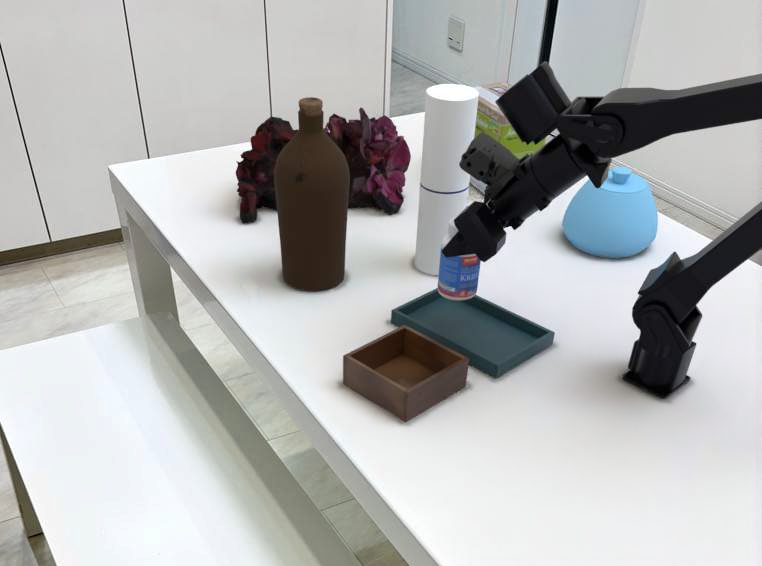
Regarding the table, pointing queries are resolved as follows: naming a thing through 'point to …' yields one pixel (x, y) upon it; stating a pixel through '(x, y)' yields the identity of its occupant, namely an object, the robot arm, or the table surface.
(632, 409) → the table surface
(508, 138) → the tea box
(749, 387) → the table surface
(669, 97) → the robot arm
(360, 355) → the open box
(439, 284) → the pill bottle
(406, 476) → the table surface
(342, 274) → the olive oil
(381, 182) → the flower arrangement
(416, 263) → the cylindrical container
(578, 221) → the sugar bowl
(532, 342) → the tray
